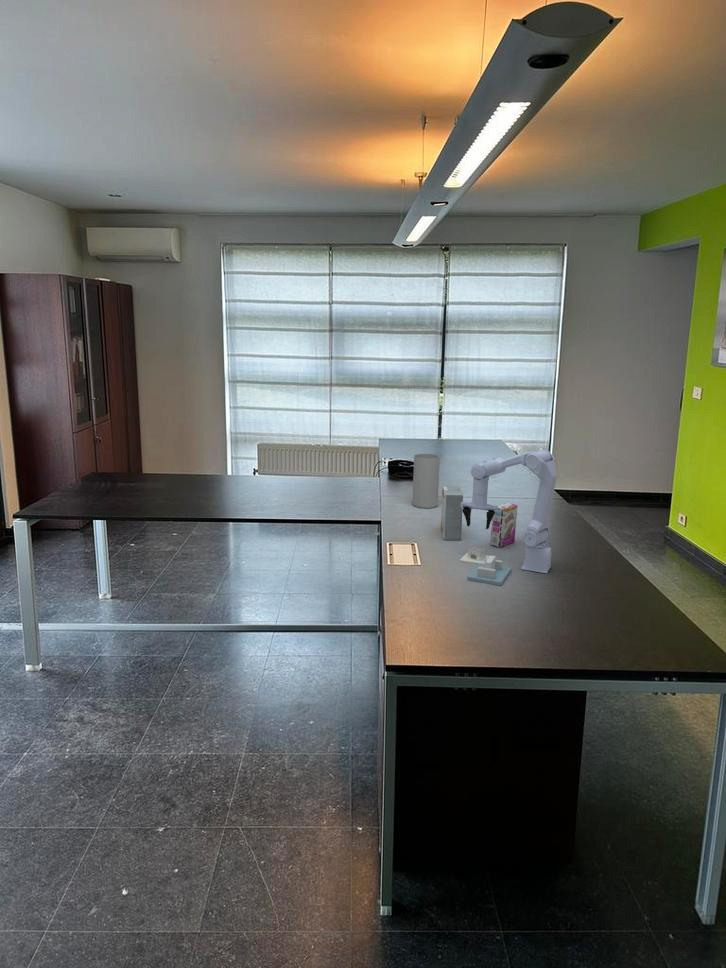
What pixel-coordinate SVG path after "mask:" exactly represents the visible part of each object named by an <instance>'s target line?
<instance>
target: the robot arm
mask: <svg viewBox="0 0 726 968" xmlns="http://www.w3.org/2000/svg"><path fill="white" fill-rule="evenodd" d="M555 460H556V459H555V457H554V456H553V454H552V452H550V450H547V449H541V450H539V451H538V450H534V451H533V450H532V451H529V452H524V453H519V454H516V455H514V456H511V457H508V458H502V457H498V456H495V457H492V459H490V460H483V461H482V462H481V463H475V465H472V467H471V468H470V474H471V476H472V478H473V481H472V482H473V483H472V500H471V501H463V502H461V508H462V514H463V515H464V518H465V521H466V526H467V528H468V527H470V526H471V516H472V515H471V514H472V509H473V510H481V511H486V523H485V524H486V526H485V530H489V529H490V525H491V523H492V518H493V516H494V514H495V512H497V511H498V506H499V505H493V504H488V491H489V490H488V488H489V480H490V477H491V476H494V475H498V474H501V473H504V472H505V471H506V469H507V468H509V467H512V466H518V465H520V464H521V465H522V466H523V467H526V468H527V469H529V471H531V473H533V474H535V476H537V478H539V480H540V481H539V485H538V490H537V495H536V499H535V504H534V507H533V512H532V518H531V520H530V522H529V523H528V525H527V526H526V527H527V528H526V530H525V531H524V532H523V535H522V541H523V543H524V544H525V549H524V561H523V565H522V566H521V570H523V571H530V572H537V573H542V574H548V573H549V571H550V569H551V564H552V563H551V562H552V547H551V546H547V541H548V540H549V539H550V536H551V534H550V533H551V532H550V524H549V523H548V519H549V514H550V511H551V505H552V501H553V496H554V492H555V488H556V482H557V478H558V477H557V476H558V475H557V469H556V467H555Z"/></svg>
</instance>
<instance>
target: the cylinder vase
mask: <svg viewBox="0 0 726 968" xmlns="http://www.w3.org/2000/svg"><path fill="white" fill-rule="evenodd" d="M440 458H441V457H440V455H437V454H432V453H418V454H417V453H416V454H414V455H413V477H412V478H413V479H412V506H414V507H416V508H420V509H432V508H433V509H434V508H436V507H438V503H439V486H440V485H439V482H440V481H439V480H440V479H439V478H440V462H441V461H440Z"/></svg>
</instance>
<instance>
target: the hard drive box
mask: <svg viewBox="0 0 726 968" xmlns="http://www.w3.org/2000/svg"><path fill="white" fill-rule="evenodd" d="M441 487H442V488H441V489H442V490H441V491H442V492H441V509H440V510H441V512H440V513H441V515H440V530H441V535H442V539H443V541H462V529H463V527H462V526H463V525H462V524H463V511H462V510H463V508H461V502H464V493H463V492H462V489H461V487H460V486H459V485H442V486H441Z"/></svg>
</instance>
